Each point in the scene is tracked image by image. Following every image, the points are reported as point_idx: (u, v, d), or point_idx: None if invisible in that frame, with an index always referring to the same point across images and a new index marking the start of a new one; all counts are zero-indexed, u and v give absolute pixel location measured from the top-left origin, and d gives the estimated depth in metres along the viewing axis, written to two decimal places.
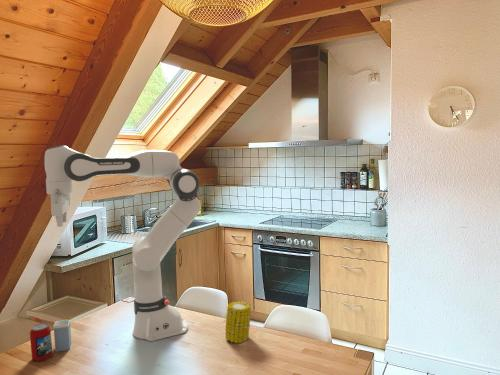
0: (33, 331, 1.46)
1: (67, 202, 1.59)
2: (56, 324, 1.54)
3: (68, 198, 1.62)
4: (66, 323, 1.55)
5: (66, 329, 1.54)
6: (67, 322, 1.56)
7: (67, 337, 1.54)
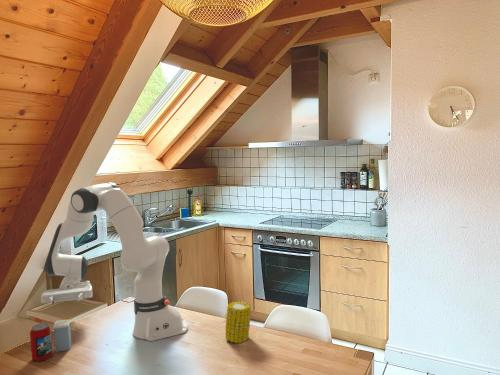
0: (33, 331, 1.46)
1: (80, 288, 1.76)
2: (56, 324, 1.54)
3: (87, 287, 1.78)
4: (66, 323, 1.55)
5: (66, 329, 1.54)
6: (67, 322, 1.56)
7: (67, 337, 1.54)
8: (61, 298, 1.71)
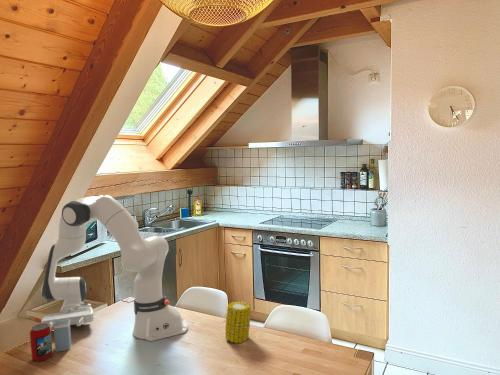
0: (33, 331, 1.46)
1: (80, 312, 1.72)
2: (56, 324, 1.54)
3: (88, 310, 1.74)
4: (66, 323, 1.55)
5: (66, 329, 1.54)
6: (67, 322, 1.56)
7: (67, 337, 1.54)
8: None
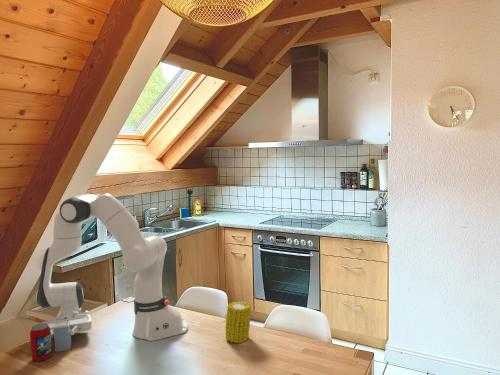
0: (33, 331, 1.46)
1: (78, 320, 1.64)
2: (56, 324, 1.54)
3: (86, 317, 1.66)
4: (66, 323, 1.55)
5: (66, 329, 1.54)
6: (67, 322, 1.56)
7: (67, 337, 1.54)
8: None
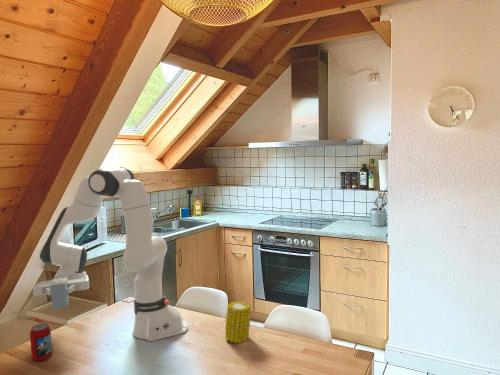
0: (33, 331, 1.46)
1: (75, 280, 1.62)
2: (53, 281, 1.53)
3: (83, 277, 1.64)
4: (63, 280, 1.53)
5: (63, 286, 1.52)
6: (64, 279, 1.54)
7: (64, 294, 1.52)
8: None
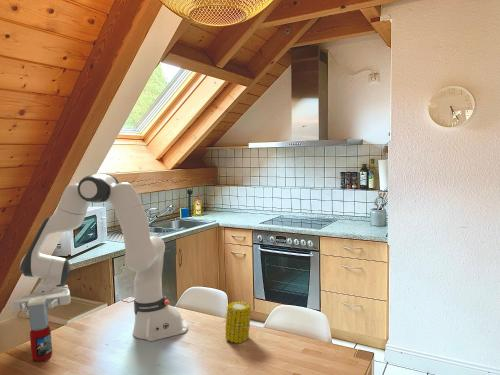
0: (33, 331, 1.45)
1: (56, 294, 1.55)
2: (31, 301, 1.46)
3: (64, 292, 1.57)
4: (41, 300, 1.46)
5: (41, 306, 1.45)
6: (43, 299, 1.47)
7: (43, 315, 1.46)
8: None
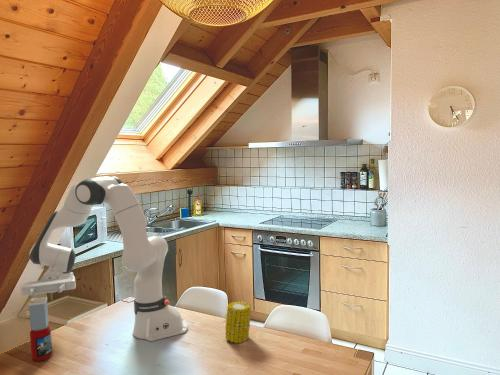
0: (33, 331, 1.46)
1: (62, 280, 1.68)
2: (32, 301, 1.46)
3: (70, 278, 1.70)
4: (42, 300, 1.46)
5: (42, 306, 1.45)
6: (44, 299, 1.47)
7: (43, 315, 1.46)
8: (42, 290, 1.64)
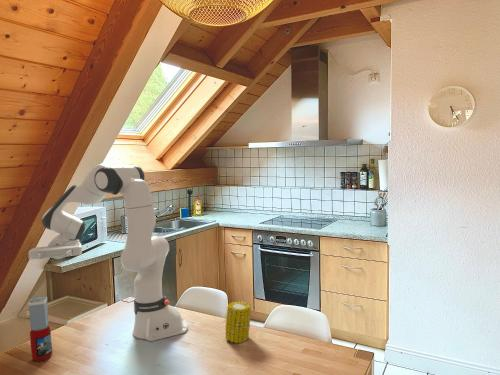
0: (33, 331, 1.46)
1: (69, 246, 1.71)
2: (32, 301, 1.46)
3: (76, 244, 1.73)
4: (42, 300, 1.46)
5: (42, 306, 1.45)
6: (43, 299, 1.47)
7: (43, 315, 1.46)
8: (49, 255, 1.67)
